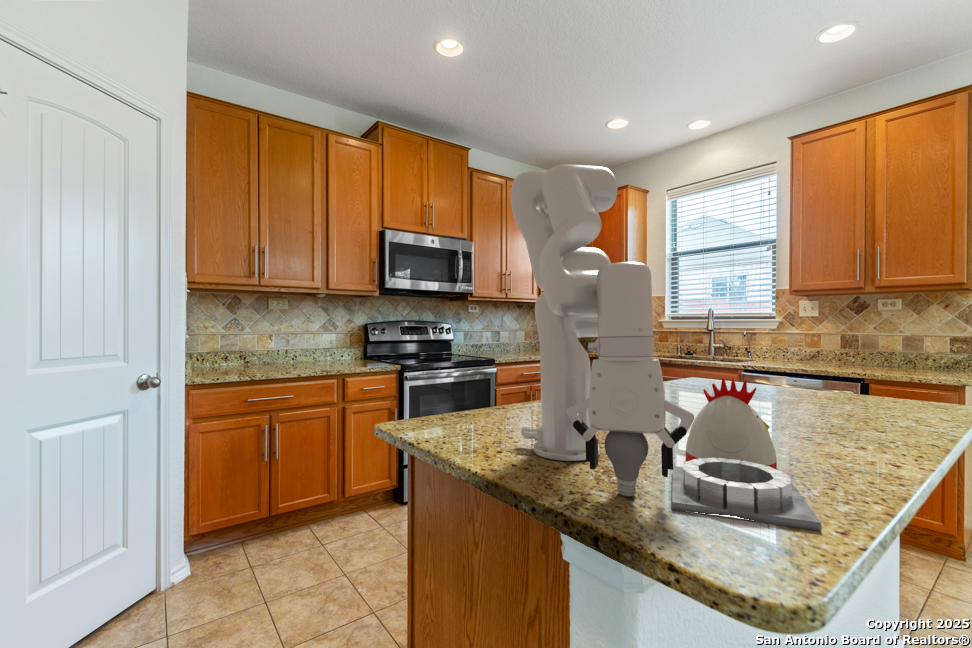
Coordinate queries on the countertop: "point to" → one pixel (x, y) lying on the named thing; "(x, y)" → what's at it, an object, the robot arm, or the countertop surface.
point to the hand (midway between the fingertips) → (628, 470)
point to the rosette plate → (763, 515)
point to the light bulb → (626, 458)
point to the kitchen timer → (730, 429)
